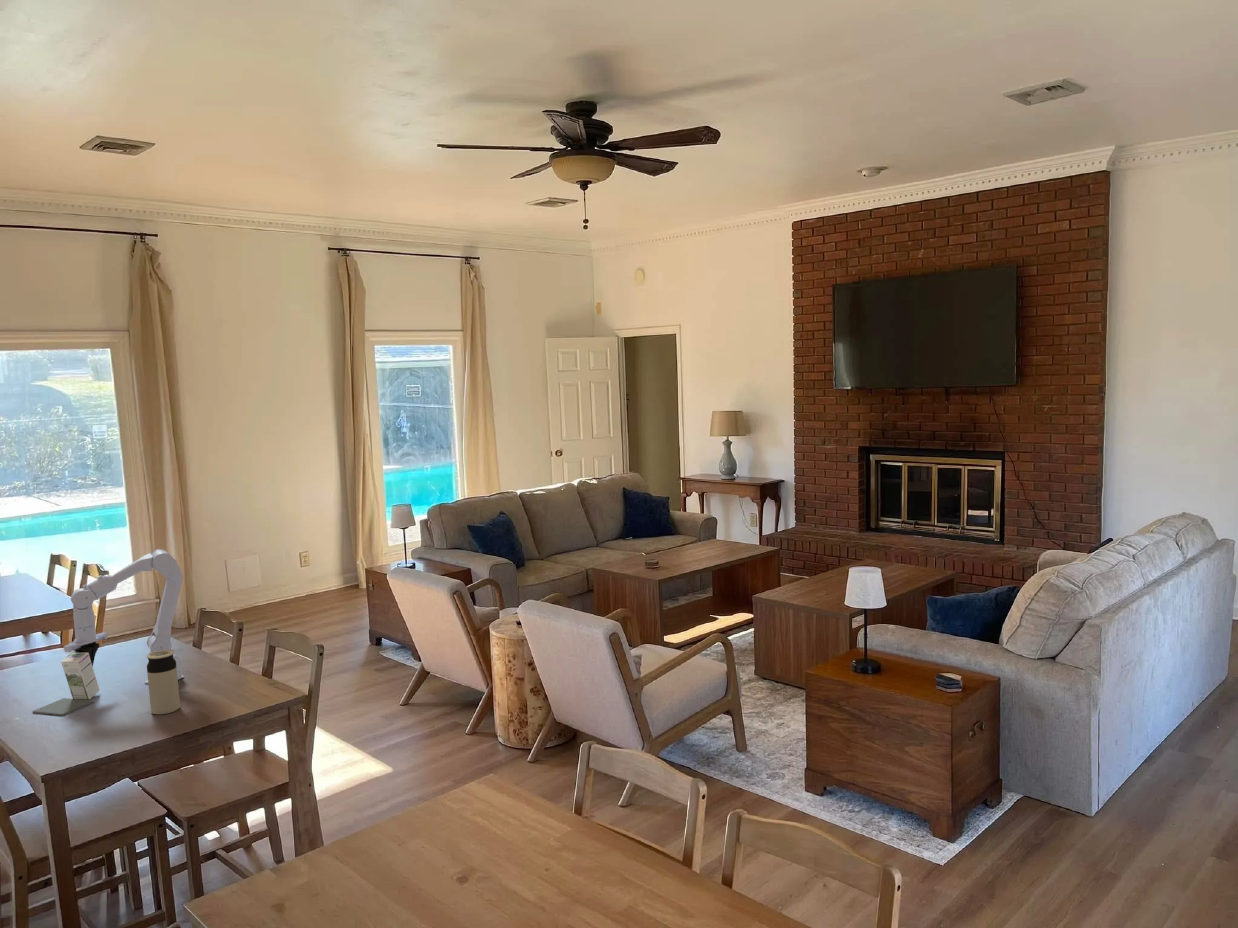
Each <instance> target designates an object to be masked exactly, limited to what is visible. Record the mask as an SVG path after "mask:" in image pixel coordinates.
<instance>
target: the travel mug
mask: <svg viewBox="0 0 1238 928" xmlns="http://www.w3.org/2000/svg"><path fill="white" fill-rule="evenodd" d="M173 654H174V655H175V651H174V650H173V649H171V650H159V651H155V652H152V653H150V652H149V653H148V654H147V655H146V658H147V659H148V663H147V664H146V673H147V680H148V683H147V684H148V692H149V693H148V694H149V706H150V712H151V714H153V715H159V716H161V715H166V714H167V715H168V714H171V713H174V712H176V711H178V709H180V708H181V703H180V700H181V699H180V692H179V682H178V681H179V680H178V678H177V667H176V661H175V659H174V658H173Z"/></svg>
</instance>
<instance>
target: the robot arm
mask: <svg viewBox="0 0 1238 928" xmlns="http://www.w3.org/2000/svg"><path fill="white" fill-rule="evenodd" d="M177 561H178V560H176V559H175V558H174V557H173V556H172V555H171V554H170V553H169V552H168V551H166V549H162V548H161V549H160V548H158V549H155V550H153V551H152V552H151V553H147V554H144V555H143V556H142V557H139V558H138V559H136V560H135V561H132V563H129V564H128V565H126V566H125V567H123V568H121V569H120V570H118V571H117V572H115V573H114V574H112V575H111V574H104V575H101V574H100V575H98V576H97V579H96V580H94V581H92V582H90V583H88V584H83V585H82V588H78V589H75V590H74V591H73V592H72V594H71V596H70V601H71V603H72V611H73V613H72V617H73V627H74V635H75V638H74V640H73V641H71V642H70V643H68V644H66V645H64V646H63V648H64V649H63V650H64V652H65V653H72V652H73V651H75V653H89V656H90V660H91V663H92V666H93V667H94V663H95V657H96V654H97V651H98V650H99V648H100V643H97V642H100V641H102V640H107V639H109V638H108V632H99V633H97V631H96V619H95V613H94V609H93V604H94V602H95V601H98V600H99V599H101V598H103V597H105V596H107V595H109V594H110V593H112V592H113V591H115V590H116V589H117V588H118V587H117V586H118V584H120V583H121V582H123V581H126V580H127V579H129V578H132V577H133V576H135V575H137V574H138V573H140V572H153V569H154V570H156V571H157V573H158V572H159V573H160V574H162V576H163V577H164V578H165V579H166V580H165V585H164V589H163V592H162V596H161V601H160V605H159V609H158V612H157V613H158V614H157V617H156V621H155V625H154V627H153V628H152V633H151V634H150V635H149V637H148V638H147V642H146V645H147V647H148V648H149V649H150V651H149V653H152V652H155V651H159V650H172V647H173V646H172V642H171V638H172V626H173V622H174V618H175V613H176V610H177V605H178V602H179V601H178V600H179V596H180V592H181V587H182V584H183V580H184V579H183V578H184V575H183V572H182V571H181V568H180V567H179V564H178V562H177ZM173 658H174V659H175V661H176V667H177V678H178V681H179V680H180V679H182V678H185V675H183V669H182V660H181V658H180V656H178V655H175V653H174V654H173ZM144 684H148V679H147V680H145V681H144Z"/></svg>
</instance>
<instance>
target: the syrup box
mask: <svg viewBox="0 0 1238 928" xmlns="http://www.w3.org/2000/svg"><path fill="white" fill-rule="evenodd" d="M60 663H61V666H62V669H63V672H64V675H65V678H66V681H67V684H68V688H69V691H70V694H71V697H72V698H71V699H79V700H91V699H92V698H93V697H94V696H96V695H97V694H98V693H99V692H100V690H101V688H100V687H99V684H98V680H97V678H96V674H95V670H94V665H93V666H92V663H91V660H90V656H89V653H77V652H70V654H68V655H66V656H65V657H64V658H63V659H62V660H61V661H60Z"/></svg>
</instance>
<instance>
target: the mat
mask: <svg viewBox="0 0 1238 928" xmlns="http://www.w3.org/2000/svg"><path fill="white" fill-rule="evenodd" d="M94 703H95V702H94V700H91V699H89V700H79V699H73V698H67V697H63V698H61V699H59V700H55V701H54V702H51V703H49V704H46V705H43V706H42V707H39V708H36V709H34V710H32V714H38V713H39V714H40V713H41V714H40V715H48V714H53V715H52V716H57V715H58V717H64V716H66V714H67V715H70V714H71V713H73V711H74V712H75V711H76V712H77V711H78V710H80V709H82V708H84V707H87V706H89V705H92V704H94ZM39 714H38V715H39Z"/></svg>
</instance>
